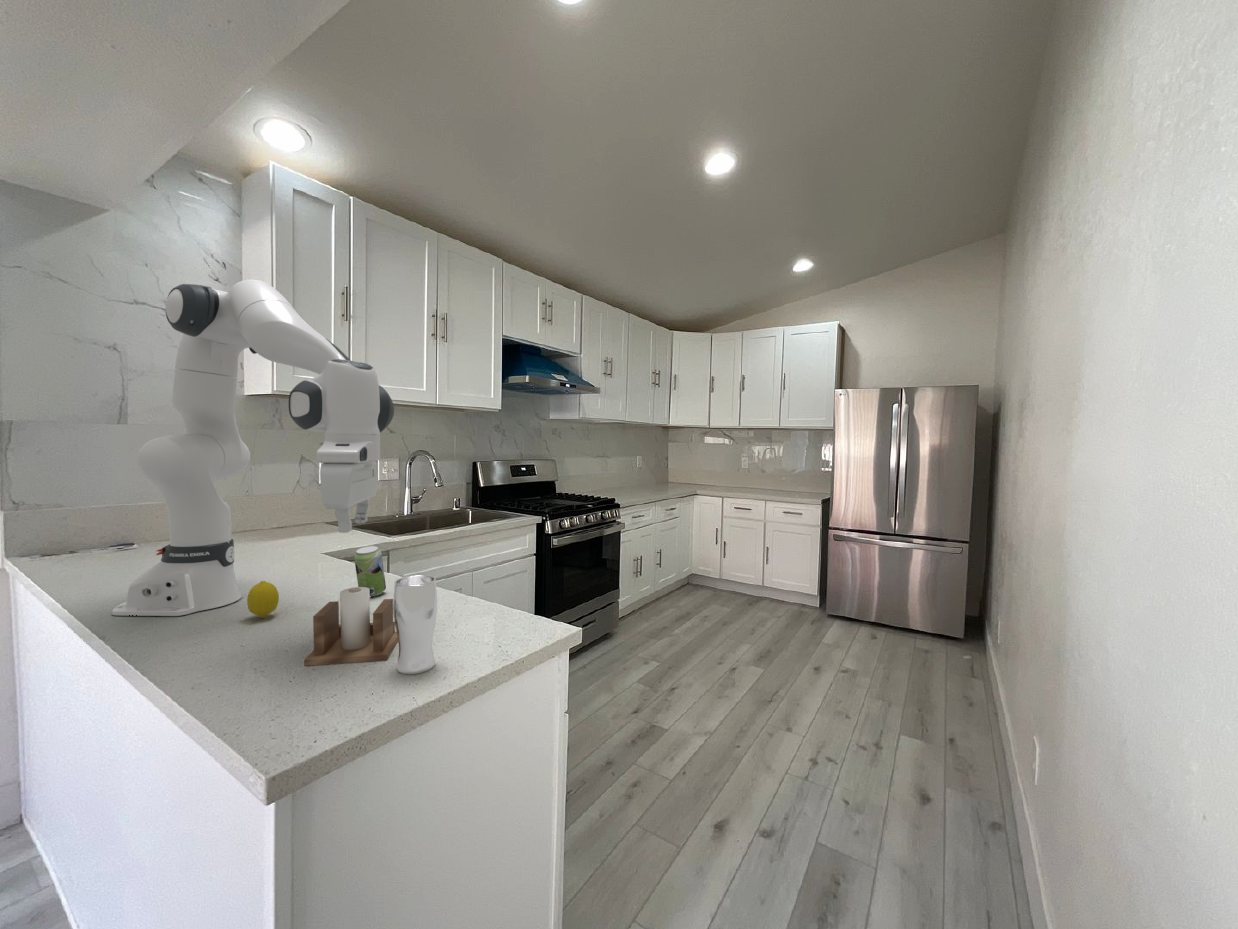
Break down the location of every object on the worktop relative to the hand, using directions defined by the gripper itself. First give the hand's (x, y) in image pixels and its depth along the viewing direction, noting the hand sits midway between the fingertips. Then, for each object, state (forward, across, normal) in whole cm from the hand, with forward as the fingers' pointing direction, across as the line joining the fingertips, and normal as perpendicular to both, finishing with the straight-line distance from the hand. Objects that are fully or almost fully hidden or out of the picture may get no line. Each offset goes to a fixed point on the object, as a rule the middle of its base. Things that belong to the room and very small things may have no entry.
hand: (353, 527), depth 93 cm
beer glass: (+23, +9, +12) cm, 27 cm away
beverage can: (+23, -34, -6) cm, 42 cm away
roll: (+22, 0, 0) cm, 22 cm away
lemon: (+23, -21, -24) cm, 39 cm away
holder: (+23, 0, 0) cm, 23 cm away
